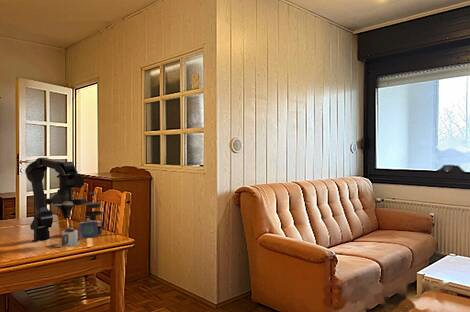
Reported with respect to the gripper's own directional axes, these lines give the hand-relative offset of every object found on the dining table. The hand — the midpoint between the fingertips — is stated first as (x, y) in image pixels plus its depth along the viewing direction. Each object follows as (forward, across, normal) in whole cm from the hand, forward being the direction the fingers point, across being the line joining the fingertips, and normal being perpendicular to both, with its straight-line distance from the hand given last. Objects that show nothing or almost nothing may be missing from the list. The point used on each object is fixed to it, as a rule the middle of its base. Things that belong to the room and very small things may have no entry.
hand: (65, 218), depth 176 cm
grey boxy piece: (+12, +3, -3) cm, 13 cm away
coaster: (+13, +3, -1) cm, 13 cm away
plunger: (+10, +3, -1) cm, 11 cm away
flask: (+13, +5, +13) cm, 19 cm away
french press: (+13, +2, +25) cm, 28 cm away
